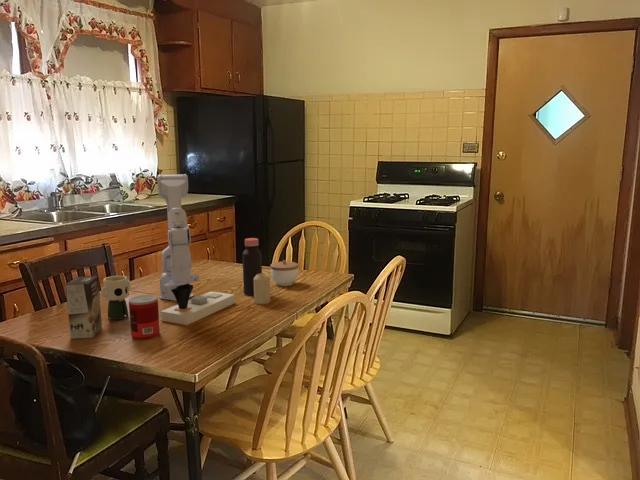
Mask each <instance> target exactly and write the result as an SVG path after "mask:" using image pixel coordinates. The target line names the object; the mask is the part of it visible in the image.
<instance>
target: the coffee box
mask: <svg viewBox="0 0 640 480" xmlns="http://www.w3.org/2000/svg"><path fill="white" fill-rule="evenodd" d="M99 285H100V284H99V275H96V276H95V275H88V276H87V275H85V276H77V277H75V278H73V279H72V280H70V281H68V282H67V283H65V290H66V301H67V315H68V327H69V338H70V339H91V338H94V337H95V336H96V334H98V332H99V331H100V330H102V328H103V323H102V310H101V299H100V298H101V295H100V286H99Z"/></svg>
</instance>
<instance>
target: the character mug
mask: <svg viewBox="0 0 640 480" xmlns="http://www.w3.org/2000/svg"><path fill="white" fill-rule="evenodd" d="M102 282H103V287H101V289H100V292H101V293H100V294H101V295H100V296H101V298H103V299H104V298H105V300H107V301H108V304H107V305H108V307H107V318H108V319H110V320H122V319H124V318H125V317H126V318H128V317H130V314H129V308H128V306H127V301H126V299H127V298H128V296H129V294H130V290H131V281H130V280H129V279H128V277H127V275H126V276H125V275H110V276H108V277H104V278H103V280H102Z"/></svg>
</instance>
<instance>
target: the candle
mask: <svg viewBox="0 0 640 480" xmlns="http://www.w3.org/2000/svg"><path fill="white" fill-rule="evenodd" d="M253 301H254V303H255V304H256V305H267V304H270V303H271V278H270V276H268V275H267V274H266V273H265V272H262V273H260V274H257V275H256V276H255V277H254V295H253Z"/></svg>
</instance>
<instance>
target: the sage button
mask: <svg viewBox="0 0 640 480" xmlns="http://www.w3.org/2000/svg"><path fill="white" fill-rule="evenodd" d="M221 296H222V294H216V293H212V294H210V295H208V296H207V298H214V299H216V298H219V297H221Z"/></svg>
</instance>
